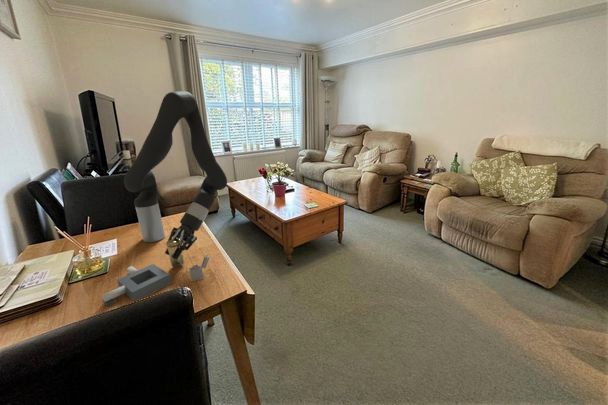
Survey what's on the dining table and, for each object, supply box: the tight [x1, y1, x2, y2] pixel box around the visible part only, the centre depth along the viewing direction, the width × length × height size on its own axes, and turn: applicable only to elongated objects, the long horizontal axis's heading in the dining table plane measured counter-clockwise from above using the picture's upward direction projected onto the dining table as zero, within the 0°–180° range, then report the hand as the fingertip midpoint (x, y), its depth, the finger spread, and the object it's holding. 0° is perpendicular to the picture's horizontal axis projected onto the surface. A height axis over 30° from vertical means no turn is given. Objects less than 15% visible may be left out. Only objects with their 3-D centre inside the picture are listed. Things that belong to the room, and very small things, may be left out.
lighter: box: [188, 255, 210, 282], centre depth 95 cm, size 7×2×8 cm, turn 115°
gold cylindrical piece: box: [165, 238, 185, 268], centre depth 102 cm, size 5×5×10 cm
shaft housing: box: [101, 263, 172, 307], centre depth 91 cm, size 17×18×4 cm
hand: (170, 256), depth 101 cm, fingers closed on gold cylindrical piece, 4 cm apart
